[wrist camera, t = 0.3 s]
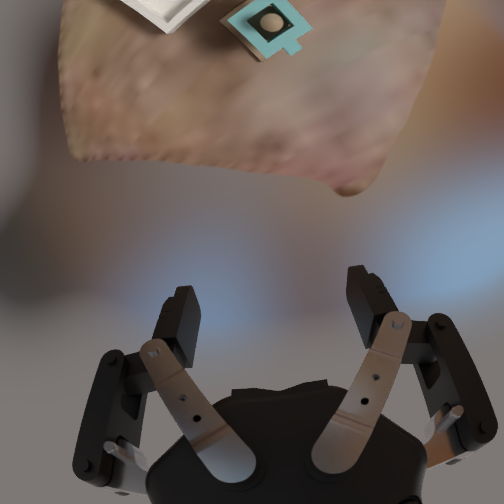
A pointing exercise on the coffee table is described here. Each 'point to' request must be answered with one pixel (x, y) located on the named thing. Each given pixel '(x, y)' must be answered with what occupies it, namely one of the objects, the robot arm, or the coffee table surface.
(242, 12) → the ring
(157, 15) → the tray
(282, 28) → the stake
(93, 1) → the coffee table surface
